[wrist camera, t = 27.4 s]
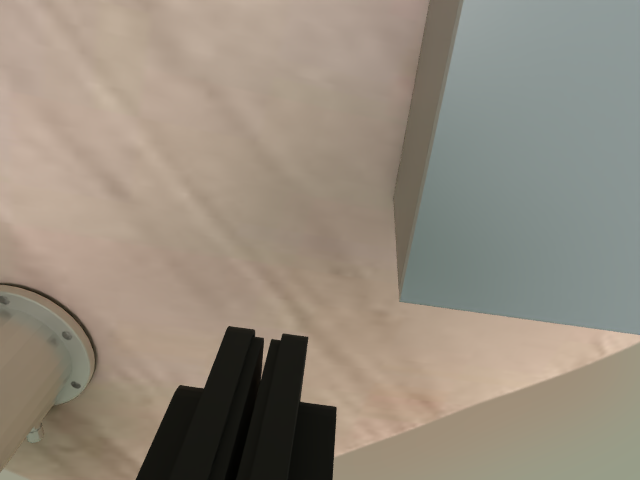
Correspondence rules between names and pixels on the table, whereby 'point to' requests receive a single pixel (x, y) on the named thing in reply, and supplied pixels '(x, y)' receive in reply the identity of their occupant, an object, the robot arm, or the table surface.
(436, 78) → the bin
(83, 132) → the table surface
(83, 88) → the table surface
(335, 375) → the table surface
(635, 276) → the lid
